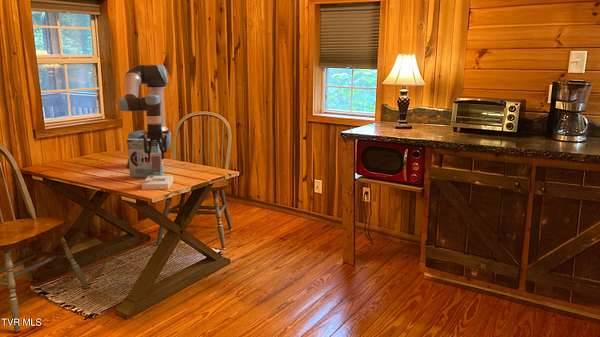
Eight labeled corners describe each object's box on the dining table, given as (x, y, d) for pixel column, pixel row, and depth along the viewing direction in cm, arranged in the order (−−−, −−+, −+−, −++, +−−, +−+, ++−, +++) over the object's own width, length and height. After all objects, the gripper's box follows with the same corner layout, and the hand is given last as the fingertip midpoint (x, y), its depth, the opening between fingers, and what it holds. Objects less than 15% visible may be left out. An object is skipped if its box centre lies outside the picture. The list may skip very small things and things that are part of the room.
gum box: (163, 176, 293) (161, 138, 288) (160, 178, 288) (157, 140, 283) (133, 175, 296) (130, 137, 291) (129, 177, 291) (126, 139, 286)
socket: (148, 181, 283) (148, 174, 282) (173, 180, 284) (172, 174, 283) (141, 189, 265) (141, 183, 264) (168, 189, 267) (167, 182, 266)
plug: (153, 170, 274) (152, 153, 272) (161, 170, 275) (160, 152, 272) (152, 172, 270) (151, 154, 268) (160, 172, 270) (159, 154, 268)
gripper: (136, 124, 262) (139, 166, 267) (169, 124, 264) (171, 166, 269) (139, 122, 269) (142, 163, 275) (171, 122, 271) (173, 163, 276)
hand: (156, 164), depth 272 cm, fingers closed on plug, 4 cm apart
